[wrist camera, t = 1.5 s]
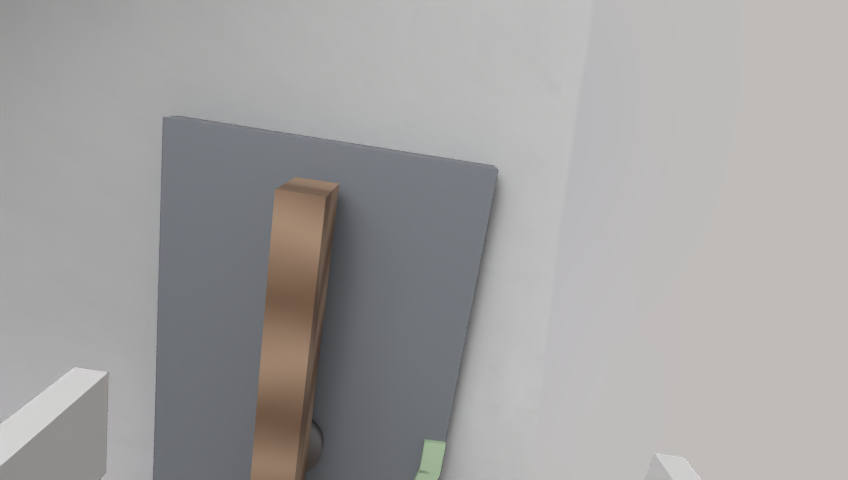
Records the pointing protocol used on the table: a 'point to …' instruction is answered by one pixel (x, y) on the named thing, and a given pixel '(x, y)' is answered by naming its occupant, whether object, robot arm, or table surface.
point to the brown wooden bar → (293, 330)
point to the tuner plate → (344, 308)
